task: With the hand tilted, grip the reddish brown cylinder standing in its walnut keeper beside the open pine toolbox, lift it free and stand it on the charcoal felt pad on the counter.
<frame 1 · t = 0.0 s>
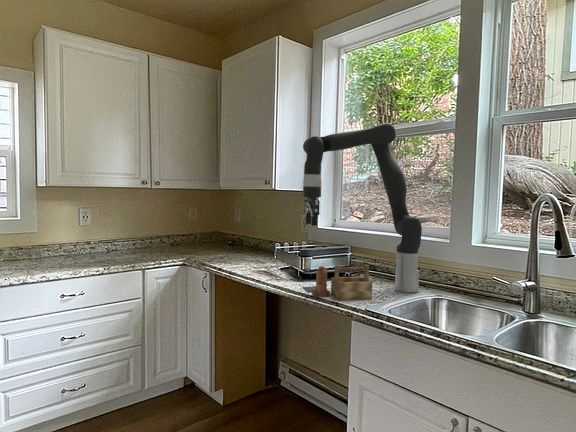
hand: (311, 224, 166), 29 cm above the worktop, tool pointing down, fingers open, 8 cm apart
pad: (313, 289, 175), on the worktop
toolbox: (350, 296, 165), on the worktop
reddish brown cylinder: (321, 295, 165), on the worktop
keeper: (321, 295, 165), on the worktop
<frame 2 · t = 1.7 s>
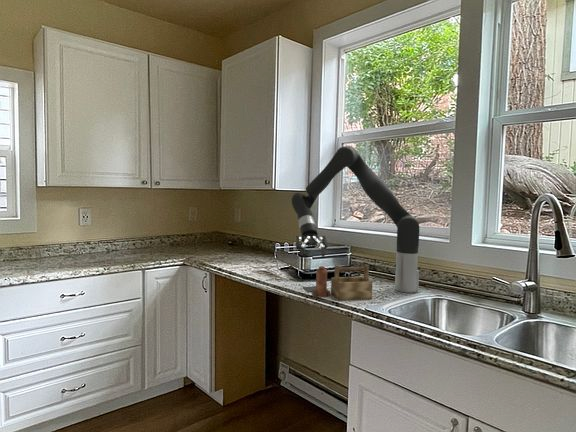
hand: (314, 255, 175), 15 cm above the worktop, tool tilted 45°, fingers open, 8 cm apart
nothing on the worktop moved.
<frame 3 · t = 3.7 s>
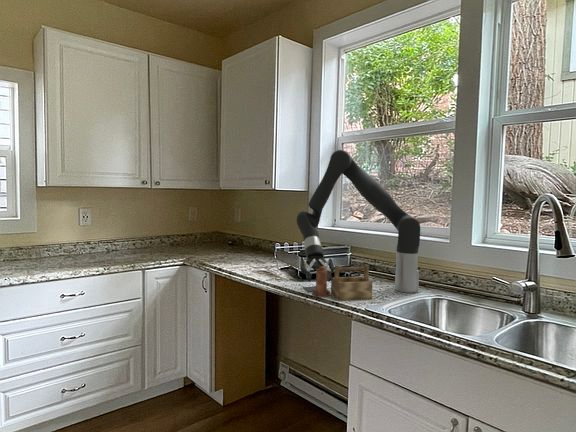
hand: (319, 280, 164), 6 cm above the worktop, tool tilted 45°, fingers open, 8 cm apart
nothing on the worktop moved.
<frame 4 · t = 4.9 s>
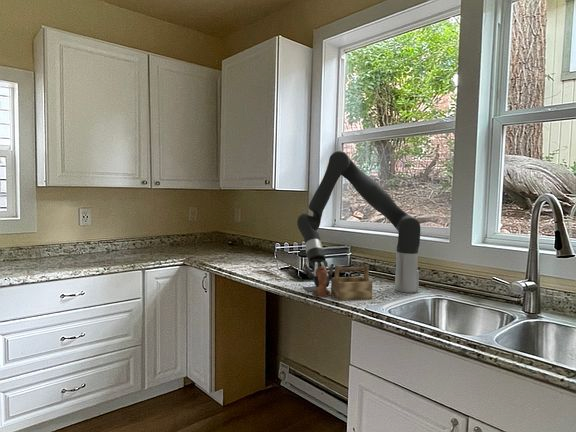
hand: (322, 285, 163), 5 cm above the worktop, tool tilted 45°, fingers closed on reddish brown cylinder, 3 cm apart
reddish brown cylinder: (320, 295, 165), on the worktop, touching gripper
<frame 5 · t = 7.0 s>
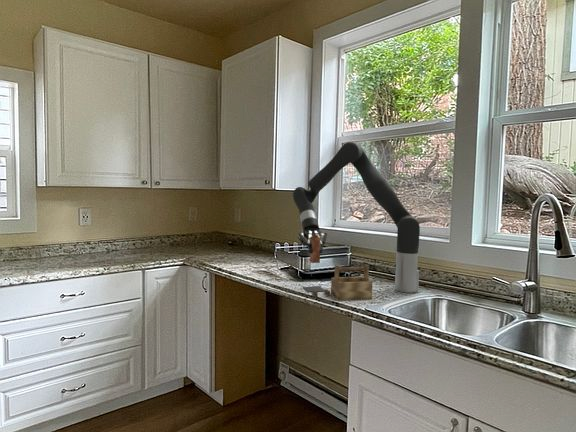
hand: (316, 252, 172), 17 cm above the worktop, tool tilted 45°, fingers closed on reddish brown cylinder, 3 cm apart
reddish brown cylinder: (314, 262, 174), point 12 cm above the worktop, touching gripper
when the fingers open (6 cm above the worktop, at t = 9.1 s): reddish brown cylinder drops 1 cm, resting on pad.
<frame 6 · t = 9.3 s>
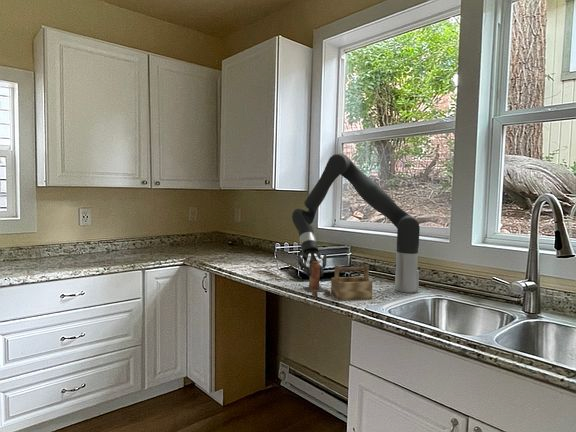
hand: (315, 275, 172), 7 cm above the worktop, tool tilted 45°, fingers open, 5 cm apart
reddish brown cylinder: (314, 288, 175), resting on pad
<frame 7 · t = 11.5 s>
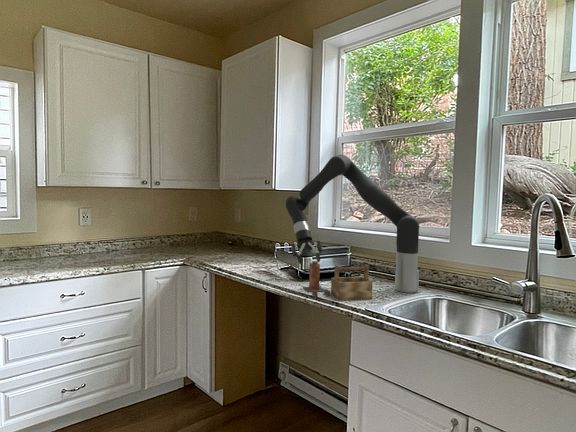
hand: (310, 262, 186), 10 cm above the worktop, tool tilted 35°, fingers open, 8 cm apart
nothing on the worktop moved.
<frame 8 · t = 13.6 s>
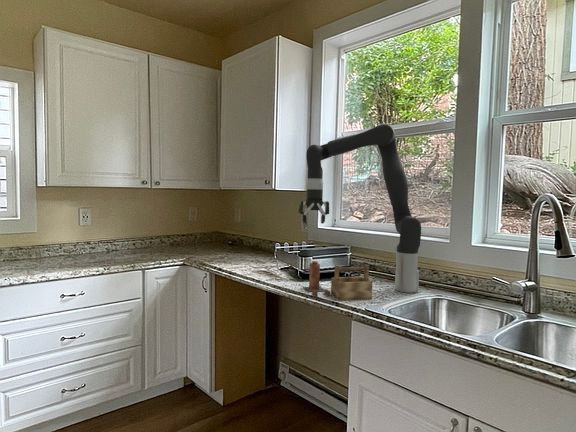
hand: (313, 223, 186), 28 cm above the worktop, tool pointing down, fingers open, 8 cm apart
nothing on the worktop moved.
at the end: reddish brown cylinder inside the target area on the pad (0.1 cm from its centre), point 0.4 cm above the pad's base; reddish brown cylinder touching pad; the gripper is holding nothing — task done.
